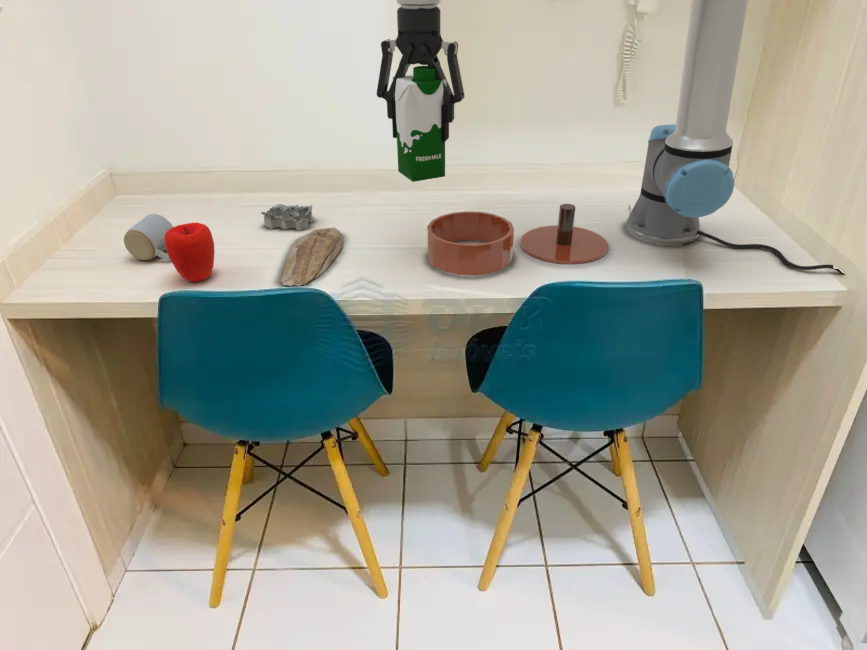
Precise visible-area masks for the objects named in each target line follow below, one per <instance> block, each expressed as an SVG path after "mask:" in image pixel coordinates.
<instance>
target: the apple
mask: <svg viewBox="0 0 867 650" xmlns="http://www.w3.org/2000/svg"><path fill="white" fill-rule="evenodd" d="M165 247H166V250H165V251H166V253H168V256H169V258H170V259H169V260H170V261H171V263H172V265H173V267H174V268H175V270H176V272H177V273H178V274H179V275H180V276H181V278H183V279H185V280H186V281H188V282H193V283H196V282H202V281H204V280H206V279H208V278H209V277H210V276H211V275H212V274H213V273H212V272H213V268H214V264H215V263H214V262H215V242H214V238H213V234H212V231H211V229H210V228H209V227H208V226H207V225H206V224H204V223H201V222H188V223H182V224H178V225H175V226H173V228H171V229H169V230H168V231H167V232H166V234H165Z"/></svg>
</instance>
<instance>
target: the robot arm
mask: <svg viewBox="0 0 867 650" xmlns="http://www.w3.org/2000/svg"><path fill="white" fill-rule="evenodd" d="M748 1H749V0H691V3H690V10H689V19H688V20H689V21H688V28H687V36H686V42H685V51H684V59H683V67H682V75H681V81H680V88H679V89H680V90H679V98H678V105H677V113H676V123H675V124H674V123H673V124H672V123H671V124H659V125H656V126H654V127H653V128H652V129H651V131H650V135H649V139H648V140H647V150H646V157H645V161H644V162H645V163H644V167H643V168H644V169H643V175H642V181H641V188H640V193H639V196H638V198H637V200H636V202H635V204H634V206H633V207H632V208H631V204H628V207H627V210H628V213H629V214H628V218H627V220H626V230H627V232H629V233H630V234H631V235H633V236H634V237H637V238H640V239H641V240H645V241H648V242H653V243H659V244H671V245H672V244H682V245H685V244H689V243H692V242H694V241H696V240H697V239H698V237H699V236H702V237H704V238H708V239H710V240H712V241H715V242H716V243H718V244H721V245H723V246H726V247H730V248H734V249H735V248H736V249H753V248H754V249H755V248H756V249H764V250H768V251H771V252H773V253H774V254H776V256H777V257H778V258H779V259H780V260H781V262H783V263H784V264H785V265H786V266H788V267H790V268H793V269H795V270H799V271H801V270H802V271H811V270H820V269H821V270H822V269H831V270H834V271H836V272H838V273H839V274H840V275H842V276H846V275H845V274H844V273H842V272H841V271H840V270H839V269H833V265H834V264H816V265H799V264H795V263H792V262H791V261H789V260H788V259H787V258H786V257H785V256H784V254H783V253H782V252H781V251H780V250H779V249H777V248H775V247H774V246H771V245H766V244H760V243H748V244H737V243H731V242H727V241H726V240H723V239H721V238H719V237H716V236H714V235H712V234H709V233H706V232H703V231H702V230H701V231H700V228H701V227H700V218H703V217H707V216H710V215H712V214H714V213H715V212H716V211H718V210H720V209H721V208H723V207H724V206H725V205H726V204H727V203H728V201H729V200H730V199H731V197H732V195H733V192H734V189H735V177H734V172H733V171H732V169H731V168H730V163H731V162H730V161H731V157H732V152H733V144H734V140H733V138H732V137H731V136H730V135H729V133H727V127H728V120H729V114H730V108H731V102H732V97H733V91H734V85H735V78H736V74H737V73H736V72H737V67H738V61H739V55H740V49H741V43H742V37H743V32H744V26H745V20H746V13H747V7H748ZM440 3H441V0H396V4H398V5H399V6H400V7H398V8H397V9H396V20H397V21H396V23H397V36H396V38H395V39H389V38H388V39H385V40H382V41H381V42H380V48H381V54H382V56H381V63H380V69H379V75H378V82H377V87H376V97H377V98H379V99H383V100H385V101H386V113H387V119H389V120H391V122H392V123H391V124H392V127H391V128H392V138H393V139H397V128H396V103H395V87H396V80H397V79H398V78H403V77H405V76H406V75H407V72H408V70H409V67H410V66H411V65H417V64H419V65H420V66H428V68H429V69H434V68H436V79H435V80H441V81H442V82H443V80H444V79H446V80H447V86H445V84H444V82H443V99H444V101H445V104H444V105H442V106H441V141H442V142H445V143H446V142H447V141H448V140H449V138H450V124H452V123H453V122H454V120H455V105H456V104H457V103H461V102H462V101H463V100H464V99H465V98H466V97H465V95H466V94H465V90H464V86H463V85H464V84H463V80H462V76H461V70H460V64H459V59H458V50H459V43H458V42H457V41H452V42H451V41H445V40H443V38H442V35H441V9H440V7H439V6H438V5H439V4H440ZM396 48H397V49H398V51H399V53H400V54H401V55H402V56H401V58H400V61H399V63H398V67H397V69H396V71H395V75H394V76H393V77H394V79H393V78H392V81H391V84H390V86H389V83H390V76H391V71H392V63H393V59H394V52H396ZM441 49H442V50H443V53H444V55H445V56H446V61H447V66H448V67H447V68H448V72H449V76H450V82H451V86H450V84H449V82H448V79H447V78H446V77H447V76H446V75H445V72H444V70H443V68H442V66H441V61H440V59H439V56H438V54H439V53H440V51H441ZM451 87H452V89H451ZM388 88H389V89H388Z"/></svg>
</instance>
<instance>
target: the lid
mask: <svg viewBox="0 0 867 650" xmlns="http://www.w3.org/2000/svg"><path fill="white" fill-rule="evenodd" d="M575 216H576V205H575V204H571V203H562V204H560V205H559V208H558V220H557V225H545V226H539V227H536V228H532V229H530V230H528V231H527V232H525V233H524V234H523V235H521V238H520V242H519V243H520V247H521V249H522V250H523V251H524V252H525V253H526V254H527V255H529V256H530V257H532V258H535V259H537V260H541V261H543V262H548V263H553V264H561V265H581V264H587V263H591V262H594V261H597V260H599V259H601V258H603V257H604V256H605V255H606V254H607V253H608V250H609V243H608V241H607V240H606V238H604V237H603V236H602V235H601V234H598V233H597V232H595V231H592V230H590V229H587V228H583V227H580V226H579V227H578V226H575V218H576V217H575Z"/></svg>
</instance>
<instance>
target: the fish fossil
mask: <svg viewBox="0 0 867 650" xmlns="http://www.w3.org/2000/svg"><path fill="white" fill-rule="evenodd" d="M343 246H344V236H343V234H342V233H341V231H340V230H339V229H337V228H336V227H326V228H319V229H314V230H311V231H310V232H308V233H307V234H305V235H303V236H302V237H300V238H298V239H297V240H296V241H295V243H294V244H293V246H292V247H291V248H290V251H289V254H288V256H287V258H286V260H285V263H284V265H283V268H282V271H281V274H280V278H279V279H278V282H280V283H281V284H282V286H290V287H292V286H297V287H300V286H305V285H307V284H308V283H309V282H310V281H313V280H315V279H316V278H318V277H319V276H321V275H322V274H323V273H324V272H325V271H326V270H328V268H329V267H330V265H331V264H332V263H333V261H334V260H335V259H336V257H337V256H338V254H339V253H340V252H341V250H342V248H343Z"/></svg>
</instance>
